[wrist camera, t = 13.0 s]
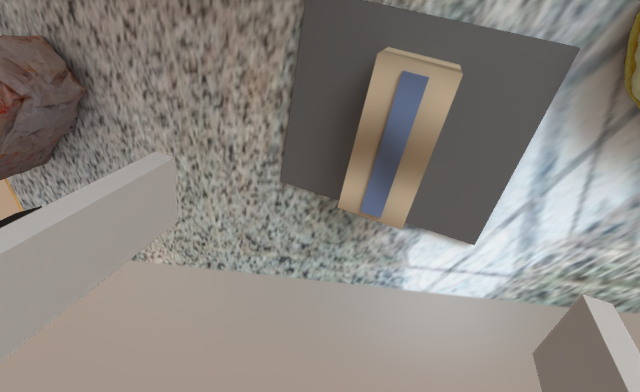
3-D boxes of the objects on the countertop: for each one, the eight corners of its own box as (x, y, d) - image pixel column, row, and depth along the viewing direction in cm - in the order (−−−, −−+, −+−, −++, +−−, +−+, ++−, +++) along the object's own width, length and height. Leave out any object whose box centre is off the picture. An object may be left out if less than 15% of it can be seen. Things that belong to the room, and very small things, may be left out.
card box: (388, 46, 22) (376, 53, 18) (460, 64, 21) (463, 75, 17) (351, 183, 27) (336, 209, 23) (407, 201, 26) (401, 232, 22)
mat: (282, 178, 29) (280, 181, 29) (309, -11, 22) (307, -12, 22) (473, 241, 26) (474, 244, 26) (577, 47, 19) (580, 47, 19)
